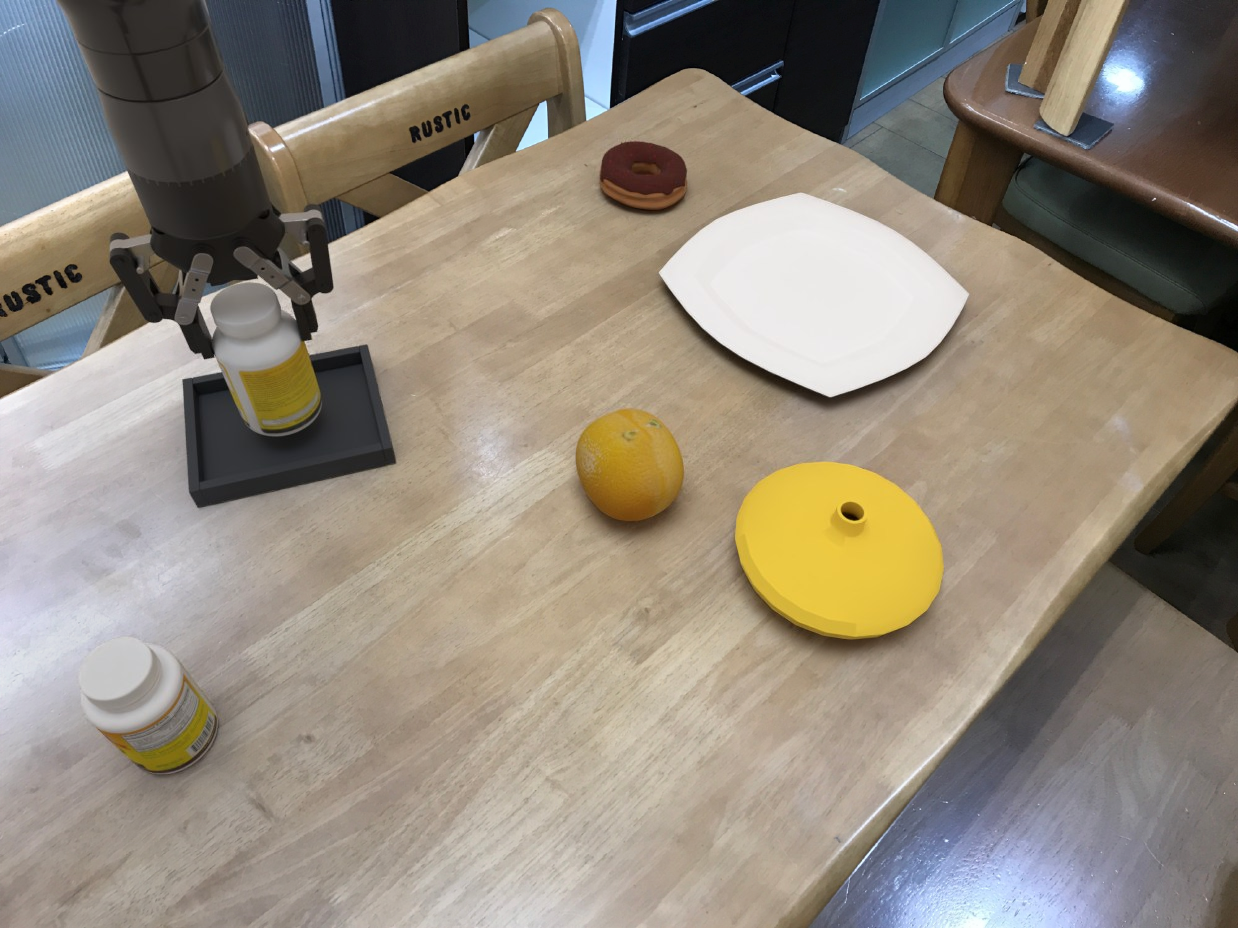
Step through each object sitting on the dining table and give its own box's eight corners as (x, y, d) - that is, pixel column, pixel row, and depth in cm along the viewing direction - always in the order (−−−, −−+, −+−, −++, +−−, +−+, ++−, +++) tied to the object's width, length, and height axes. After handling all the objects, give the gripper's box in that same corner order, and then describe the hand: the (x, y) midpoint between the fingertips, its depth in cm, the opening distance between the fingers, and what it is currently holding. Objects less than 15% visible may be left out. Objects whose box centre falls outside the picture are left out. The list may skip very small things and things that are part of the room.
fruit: (699, 500, 72) (712, 437, 66) (629, 556, 69) (636, 495, 63) (623, 439, 76) (629, 374, 70) (553, 489, 72) (552, 425, 66)
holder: (197, 508, 70) (188, 492, 68) (190, 396, 77) (182, 379, 75) (396, 463, 73) (392, 447, 72) (371, 360, 81) (367, 343, 79)
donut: (704, 193, 100) (709, 162, 97) (642, 227, 95) (644, 195, 92) (642, 154, 104) (645, 123, 101) (579, 185, 99) (580, 153, 96)
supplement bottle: (127, 713, 59) (59, 641, 51) (214, 684, 61) (161, 610, 53) (134, 791, 56) (63, 728, 48) (226, 758, 57) (172, 692, 50)
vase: (811, 453, 76) (830, 397, 71) (970, 568, 70) (1004, 516, 64) (687, 558, 69) (698, 505, 63) (851, 698, 62) (879, 652, 57)
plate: (621, 285, 89) (622, 269, 87) (795, 188, 101) (799, 173, 100) (829, 441, 77) (834, 426, 76) (998, 310, 89) (1005, 295, 88)
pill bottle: (339, 411, 73) (308, 304, 64) (271, 453, 70) (228, 346, 61) (294, 371, 76) (258, 262, 67) (226, 409, 73) (179, 301, 64)
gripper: (54, 195, 50) (158, 396, 63) (314, 159, 54) (362, 357, 67) (60, 126, 55) (156, 328, 68) (299, 97, 58) (347, 294, 71)
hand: (258, 342), depth 67 cm, fingers closed on pill bottle, 6 cm apart
